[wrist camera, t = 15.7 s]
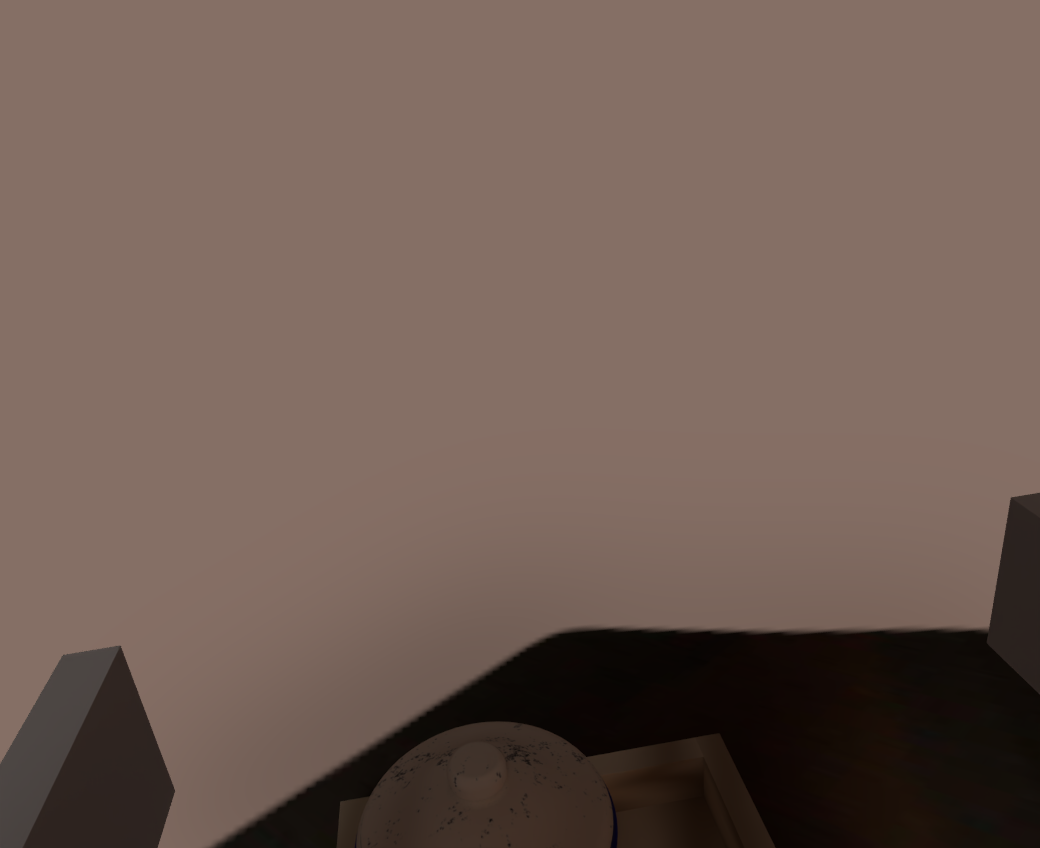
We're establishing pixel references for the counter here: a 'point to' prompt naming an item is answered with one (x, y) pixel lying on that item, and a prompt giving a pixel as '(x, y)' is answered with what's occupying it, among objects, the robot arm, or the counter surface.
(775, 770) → the counter surface
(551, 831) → the teacup with lid
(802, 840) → the counter surface
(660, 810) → the housing tray
